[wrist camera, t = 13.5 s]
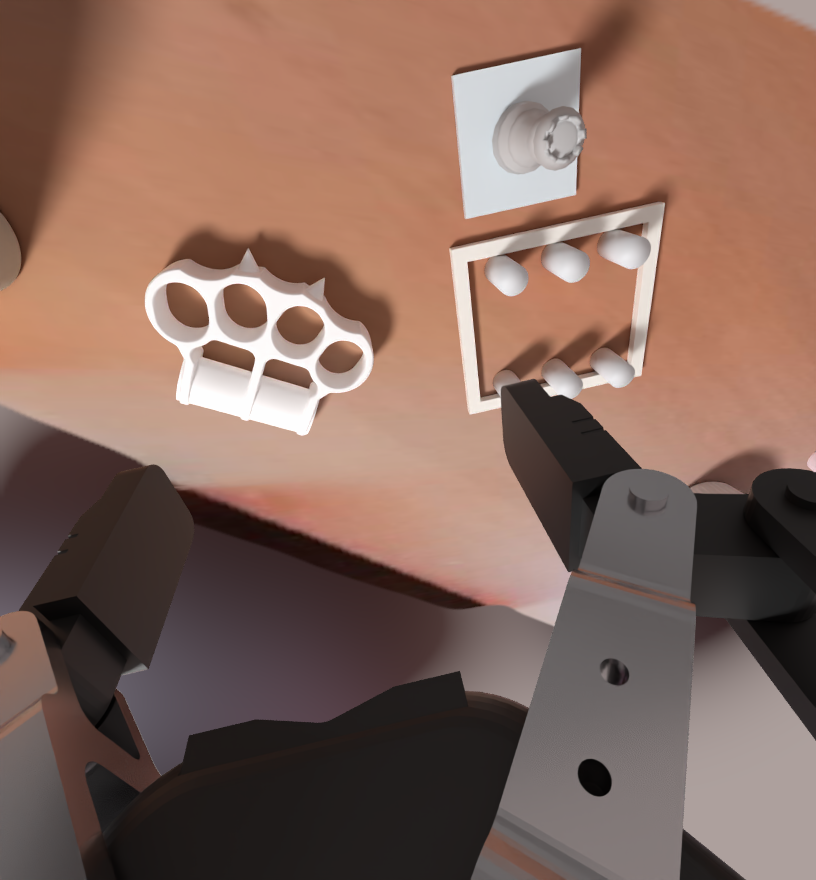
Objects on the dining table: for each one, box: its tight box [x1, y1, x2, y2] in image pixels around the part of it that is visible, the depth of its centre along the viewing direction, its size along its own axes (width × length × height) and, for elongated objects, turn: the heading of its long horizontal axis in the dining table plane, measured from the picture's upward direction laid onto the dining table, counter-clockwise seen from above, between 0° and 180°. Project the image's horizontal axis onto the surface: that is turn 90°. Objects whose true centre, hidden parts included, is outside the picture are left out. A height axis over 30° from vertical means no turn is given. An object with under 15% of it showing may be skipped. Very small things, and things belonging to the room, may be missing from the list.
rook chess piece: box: [492, 101, 586, 174], centre depth 30 cm, size 4×4×8 cm
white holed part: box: [145, 248, 374, 435], centre depth 38 cm, size 3×18×15 cm
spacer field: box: [449, 202, 665, 414], centre depth 40 cm, size 18×16×4 cm
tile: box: [451, 48, 581, 219], centre depth 33 cm, size 9×9×1 cm
